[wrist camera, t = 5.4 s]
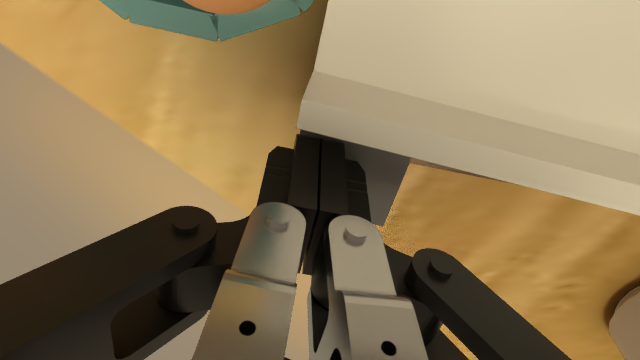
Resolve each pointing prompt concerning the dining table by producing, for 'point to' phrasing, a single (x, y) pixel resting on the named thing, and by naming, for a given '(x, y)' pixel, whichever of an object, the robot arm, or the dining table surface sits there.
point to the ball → (227, 5)
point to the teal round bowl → (204, 16)
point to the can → (627, 325)
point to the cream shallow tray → (483, 93)
